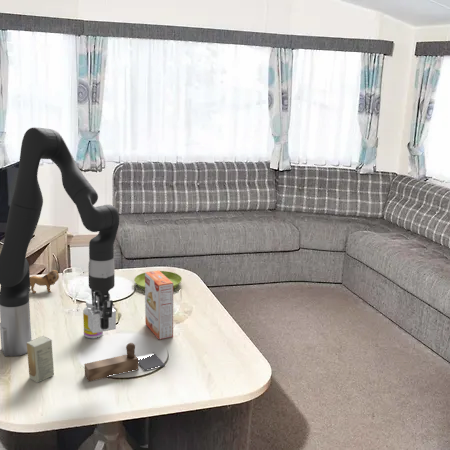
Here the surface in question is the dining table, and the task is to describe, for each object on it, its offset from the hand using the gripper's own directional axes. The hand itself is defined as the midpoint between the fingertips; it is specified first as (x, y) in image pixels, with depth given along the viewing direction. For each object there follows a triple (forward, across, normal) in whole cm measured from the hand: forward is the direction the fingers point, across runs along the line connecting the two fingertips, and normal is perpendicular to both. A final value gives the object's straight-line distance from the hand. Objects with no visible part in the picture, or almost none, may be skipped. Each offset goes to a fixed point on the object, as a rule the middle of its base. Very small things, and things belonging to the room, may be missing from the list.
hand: (101, 324), depth 178 cm
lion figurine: (+18, -77, -1) cm, 79 cm away
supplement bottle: (+17, -28, +6) cm, 33 cm away
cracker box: (+17, -21, +28) cm, 39 cm away
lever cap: (+1, 0, 0) cm, 1 cm away
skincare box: (+17, -7, -17) cm, 25 cm away
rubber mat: (+17, -1, +16) cm, 23 cm away
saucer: (+17, -64, +46) cm, 80 cm away
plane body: (+17, 0, +3) cm, 17 cm away
